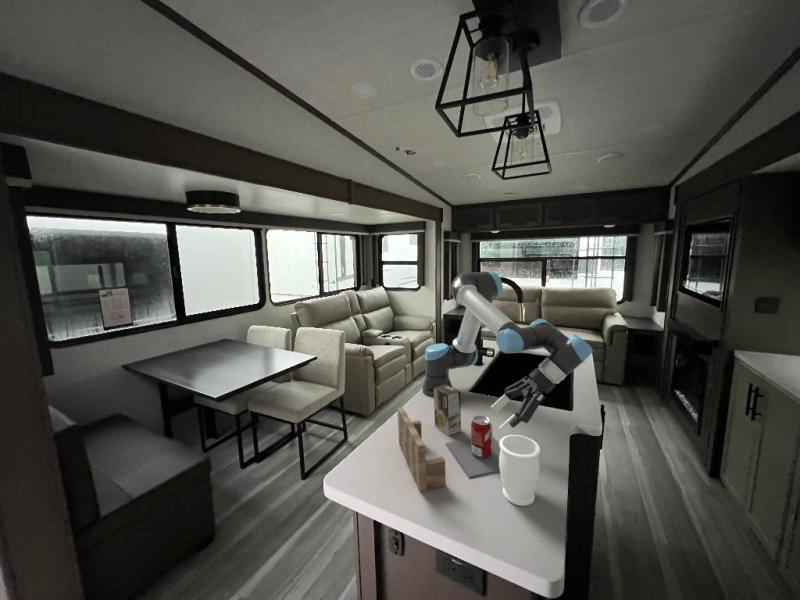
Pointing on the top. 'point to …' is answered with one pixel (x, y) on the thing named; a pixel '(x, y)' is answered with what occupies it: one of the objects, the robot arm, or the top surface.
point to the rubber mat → (475, 458)
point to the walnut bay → (419, 455)
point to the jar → (519, 468)
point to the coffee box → (447, 409)
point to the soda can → (481, 437)
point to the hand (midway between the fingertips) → (497, 419)
